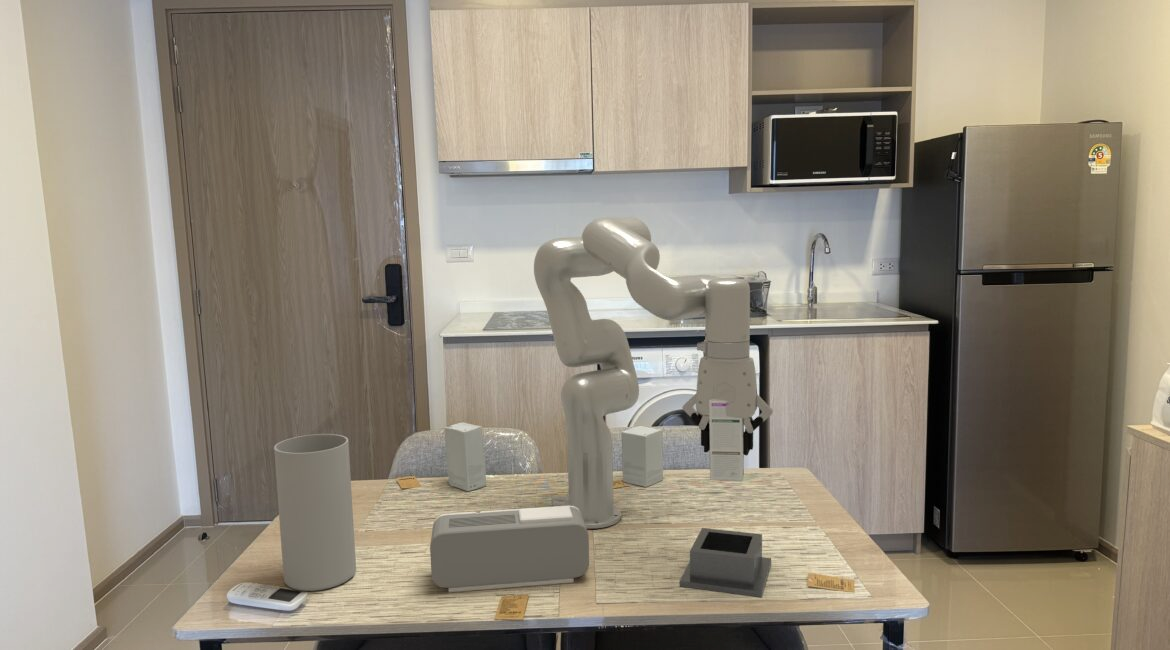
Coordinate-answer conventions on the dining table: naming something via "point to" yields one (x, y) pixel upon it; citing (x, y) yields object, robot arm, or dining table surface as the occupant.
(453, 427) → the skincare box
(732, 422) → the syrup box
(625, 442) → the supplement box
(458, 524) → the grey rounded block
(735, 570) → the socket
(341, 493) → the cylinder vase
